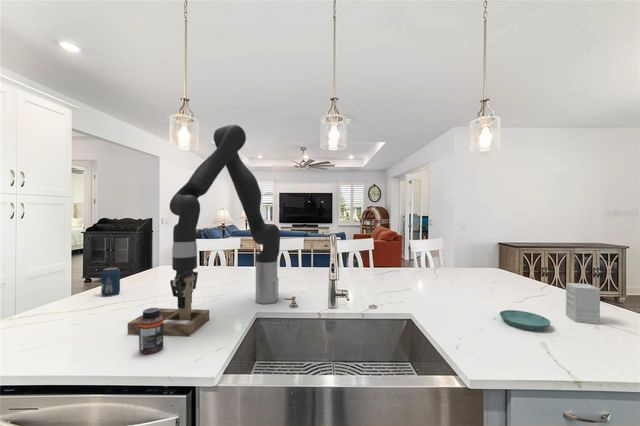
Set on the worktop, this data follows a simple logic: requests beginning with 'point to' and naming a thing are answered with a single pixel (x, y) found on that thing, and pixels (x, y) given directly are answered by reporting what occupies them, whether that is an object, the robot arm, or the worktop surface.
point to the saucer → (524, 320)
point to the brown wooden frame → (175, 322)
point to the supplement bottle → (151, 331)
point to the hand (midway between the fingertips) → (185, 305)
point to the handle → (186, 301)
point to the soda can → (110, 281)
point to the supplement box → (583, 303)
